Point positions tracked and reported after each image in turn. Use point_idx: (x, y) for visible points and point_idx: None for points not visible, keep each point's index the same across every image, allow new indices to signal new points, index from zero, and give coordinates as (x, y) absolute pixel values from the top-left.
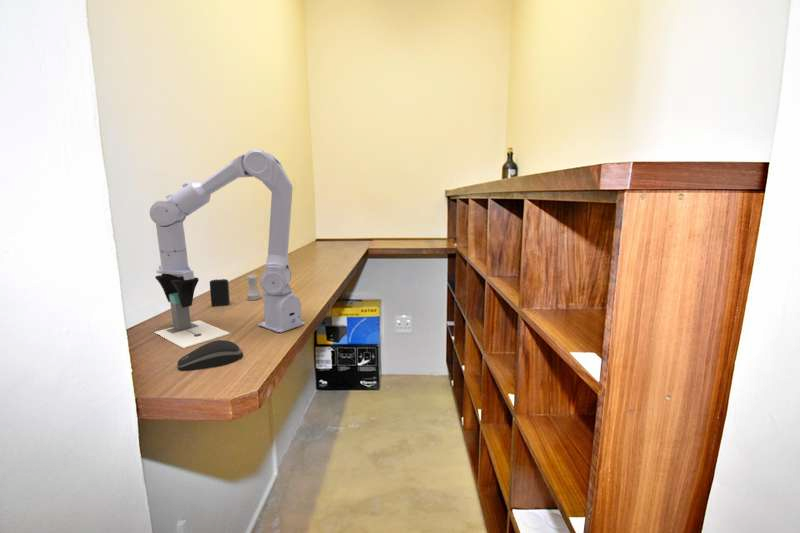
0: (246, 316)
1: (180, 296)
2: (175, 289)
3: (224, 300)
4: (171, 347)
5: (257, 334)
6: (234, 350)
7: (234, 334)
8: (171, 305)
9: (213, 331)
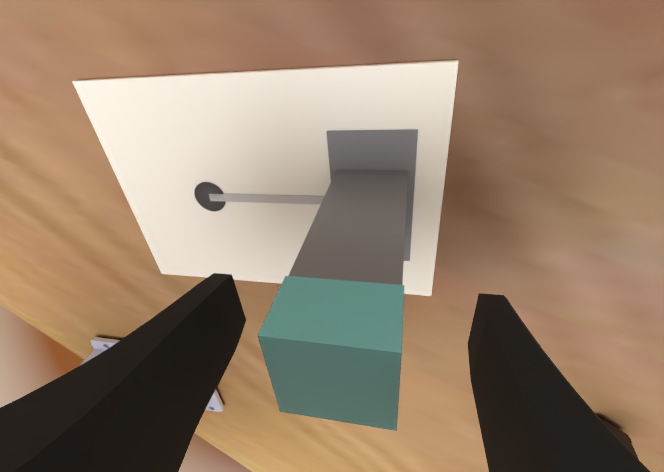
0: None
1: (123, 339)
2: (494, 450)
3: None
4: (127, 43)
5: (118, 307)
6: None
7: (156, 276)
8: (385, 264)
9: (218, 253)
